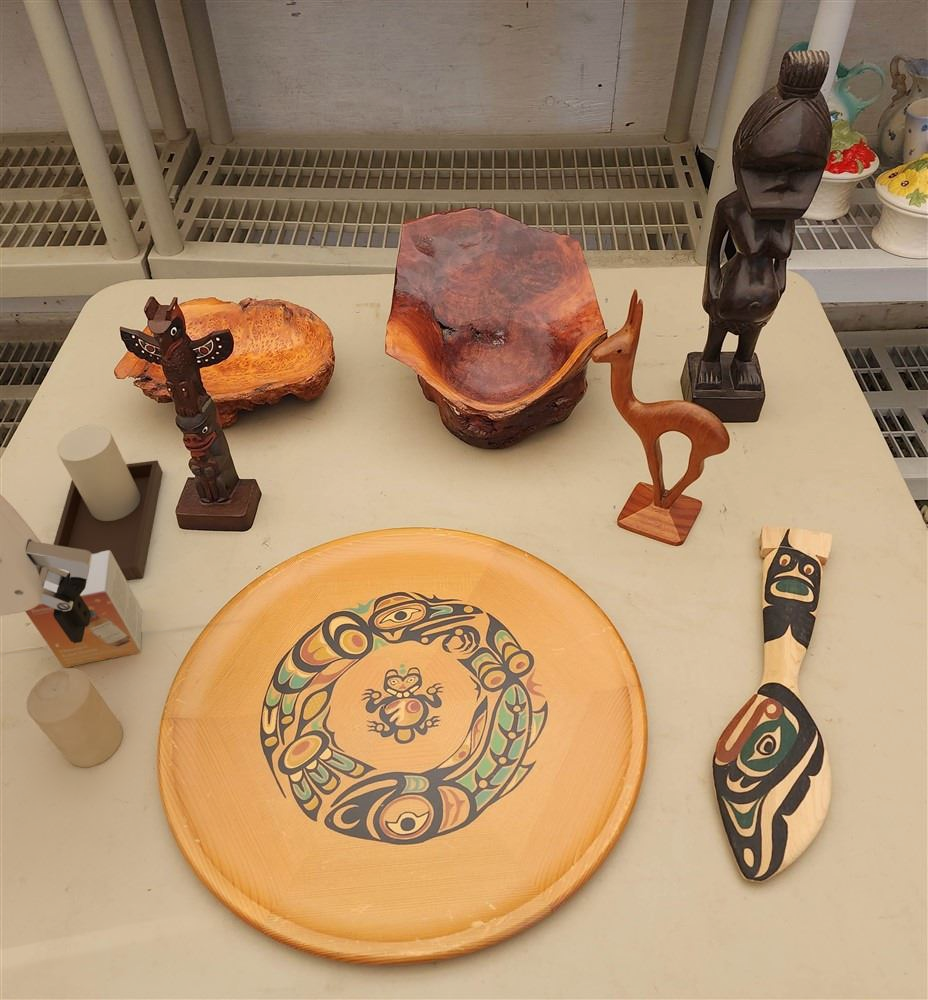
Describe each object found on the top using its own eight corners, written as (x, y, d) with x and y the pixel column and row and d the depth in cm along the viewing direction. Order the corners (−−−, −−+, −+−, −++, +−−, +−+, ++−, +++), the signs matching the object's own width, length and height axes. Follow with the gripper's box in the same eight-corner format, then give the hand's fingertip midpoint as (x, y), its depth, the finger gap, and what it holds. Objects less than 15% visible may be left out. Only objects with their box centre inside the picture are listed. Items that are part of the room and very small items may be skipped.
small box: (63, 669, 89) (18, 608, 81) (69, 626, 93) (27, 564, 85) (142, 653, 90) (105, 591, 82) (145, 611, 93) (110, 548, 86)
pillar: (86, 524, 102) (51, 463, 95) (95, 488, 106) (62, 428, 99) (136, 518, 102) (106, 456, 95) (144, 482, 107) (115, 421, 99)
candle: (120, 762, 81) (78, 707, 74) (60, 773, 81) (13, 718, 74) (126, 711, 85) (87, 654, 78) (69, 721, 85) (25, 664, 77)
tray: (52, 593, 96) (43, 579, 94) (82, 485, 108) (74, 470, 106) (144, 581, 96) (136, 566, 94) (164, 475, 108) (157, 460, 106)
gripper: (-247, 549, 55) (-101, 691, 67) (24, 512, 56) (120, 660, 68) (-198, 469, 60) (-71, 614, 73) (49, 436, 61) (134, 586, 73)
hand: (21, 636), depth 70 cm, fingers open, 9 cm apart
